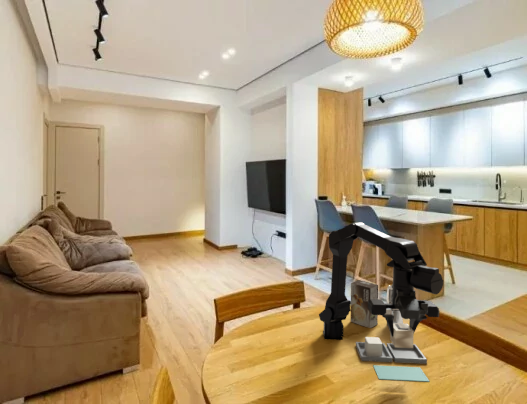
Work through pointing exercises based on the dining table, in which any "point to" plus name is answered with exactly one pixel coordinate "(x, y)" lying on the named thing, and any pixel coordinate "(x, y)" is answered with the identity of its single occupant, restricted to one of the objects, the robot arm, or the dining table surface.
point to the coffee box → (363, 303)
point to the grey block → (373, 346)
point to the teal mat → (400, 373)
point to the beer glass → (389, 295)
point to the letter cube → (402, 336)
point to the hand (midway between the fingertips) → (401, 336)
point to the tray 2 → (406, 354)
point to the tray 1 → (363, 356)
